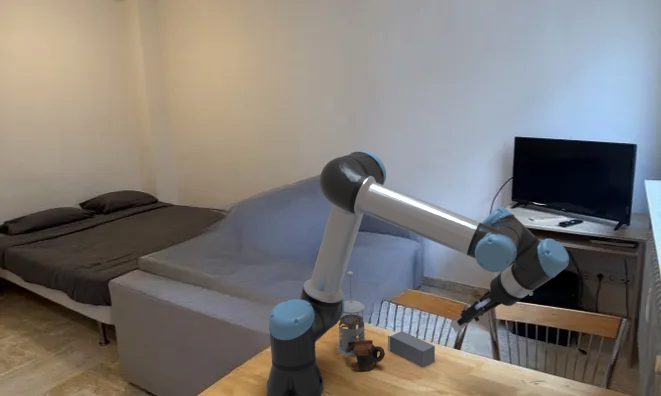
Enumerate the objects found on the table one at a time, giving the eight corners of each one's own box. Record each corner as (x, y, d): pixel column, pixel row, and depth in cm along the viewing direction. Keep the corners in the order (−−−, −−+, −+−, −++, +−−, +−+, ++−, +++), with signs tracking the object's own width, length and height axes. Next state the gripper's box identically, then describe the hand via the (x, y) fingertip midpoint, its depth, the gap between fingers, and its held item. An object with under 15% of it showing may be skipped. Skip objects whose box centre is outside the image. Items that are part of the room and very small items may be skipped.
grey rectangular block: (423, 367, 152) (388, 350, 162) (434, 361, 155) (399, 344, 165) (423, 351, 151) (387, 335, 161) (434, 345, 154) (399, 329, 164)
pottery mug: (342, 372, 152) (339, 342, 154) (355, 371, 160) (352, 343, 162) (381, 368, 147) (378, 338, 149) (393, 368, 155) (390, 338, 158)
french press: (330, 352, 162) (327, 274, 157) (347, 336, 172) (345, 262, 167) (360, 359, 158) (358, 279, 152) (375, 342, 168) (374, 266, 162)
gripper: (506, 306, 122) (446, 347, 138) (536, 291, 130) (477, 332, 146) (486, 278, 125) (431, 322, 141) (518, 265, 133) (461, 308, 149)
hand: (454, 327), depth 143 cm, fingers closed
